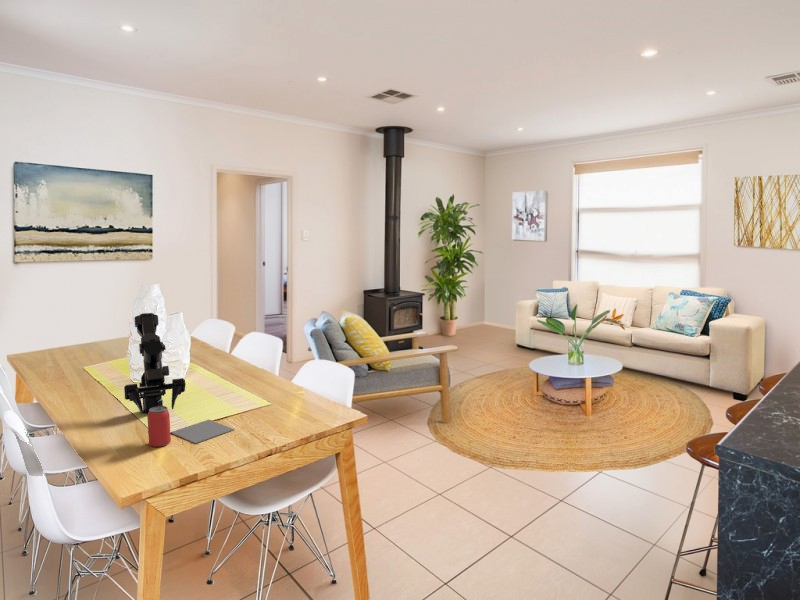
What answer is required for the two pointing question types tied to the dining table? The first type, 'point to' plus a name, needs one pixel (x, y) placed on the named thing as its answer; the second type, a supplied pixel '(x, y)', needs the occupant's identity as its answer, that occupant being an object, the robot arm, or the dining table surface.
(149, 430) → the beer can
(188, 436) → the mat
